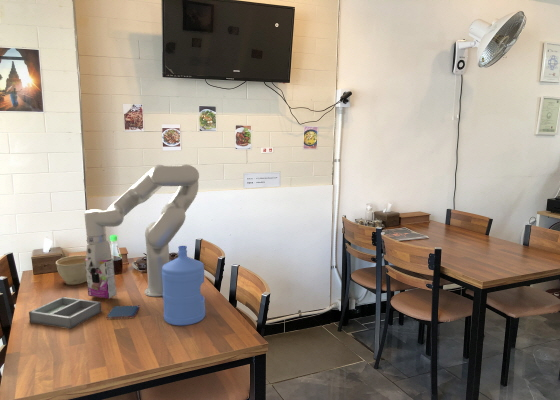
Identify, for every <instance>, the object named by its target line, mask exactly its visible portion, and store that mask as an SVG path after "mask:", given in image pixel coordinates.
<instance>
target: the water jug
mask: <svg viewBox="0 0 560 400" xmlns="http://www.w3.org/2000/svg"><path fill="white" fill-rule="evenodd" d="M187 247H188V246H187V245H179V246H178V247H177V248H178V251H177V252H178V256H177V257H176V258H174V259H172V260H169V262H168V263H166V264H164V265H163V267H162V278H163V296H162V299H163V301H162V302H163V320H164V321H165V322H166V323H167V324H170V325H173V326H190V325H193V324H196V323H199V322H201V321H202V320H204V319H205V316H206V301H205V300H206V299H205V296H204V295H202V293H201V286H202V284H204V283H205V265H204V263H203V262H202V261H200V260H197V259H194V258H191V257H189V256H188V250H187Z"/></svg>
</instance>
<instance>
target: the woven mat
mask: <svg viewBox="0 0 560 400" xmlns="http://www.w3.org/2000/svg"><path fill="white" fill-rule="evenodd" d="M139 310H140V304H138V305H121V306H120V305H119V306H118V305H115V306H113V307H112V309H111V310H110V311H109V313H108V314H107V315H106V316H105V318H106V320H107V321H108V320H124V319H126V320H129V319H130V318H131V319H134V318H135V317H136V314H137V313H138V311H139Z"/></svg>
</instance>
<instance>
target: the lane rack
mask: <svg viewBox="0 0 560 400" xmlns="http://www.w3.org/2000/svg"><path fill="white" fill-rule="evenodd" d="M100 313H102V303H101V301H96V300H95V301H94V300H87V299H82V298H80V299H79V298H74V297H66V296H61V297H59V298H56V299H55V300H52V301H50V302H48V303H46V304H44V305H41V306H39V307H37V308H35V309H32V310H30V311H28V314H29V317H28V318H29V323H33V324H38V325H45V326H51V327H56V328H57V327H58V328H63V329H69V330H72V329H73V328H75V327H78V325H80V324H82V323H84V322H86V321H87V320H89V319H91V318H93V317H94V316H97V315H98V314H100Z"/></svg>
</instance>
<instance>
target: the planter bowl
mask: <svg viewBox="0 0 560 400" xmlns="http://www.w3.org/2000/svg"><path fill="white" fill-rule="evenodd" d="M85 259H87V257H86V255H85V254H84V255H83V254H81V255H80V254H79V255H69V256H66V257H61V258H60V259H58V260H56V261H55V265H56V268H57V269H56V270H57V272H58V274H59V276H60V277H61V279H62V280H64V282H65V284H66V285H79V284H80V285H81V284H83V283H85V282H86V283H87V276H86V269H85V268H86V267H85Z"/></svg>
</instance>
